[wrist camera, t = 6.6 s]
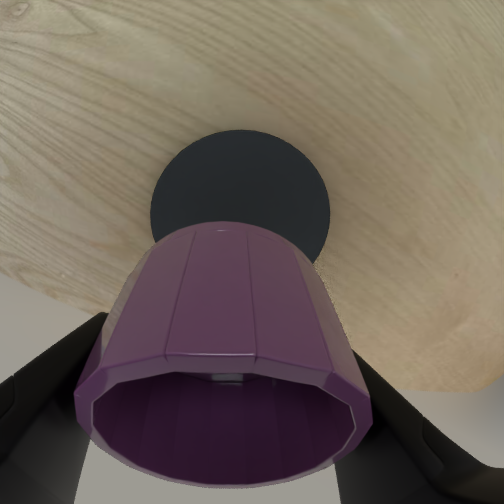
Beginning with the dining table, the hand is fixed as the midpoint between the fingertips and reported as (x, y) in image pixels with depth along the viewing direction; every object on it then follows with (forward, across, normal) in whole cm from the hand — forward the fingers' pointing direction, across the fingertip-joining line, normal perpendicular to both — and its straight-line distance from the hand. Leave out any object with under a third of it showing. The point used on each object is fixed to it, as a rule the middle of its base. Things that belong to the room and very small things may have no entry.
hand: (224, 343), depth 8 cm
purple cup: (+1, 0, 0) cm, 1 cm away
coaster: (+10, -1, 0) cm, 10 cm away
